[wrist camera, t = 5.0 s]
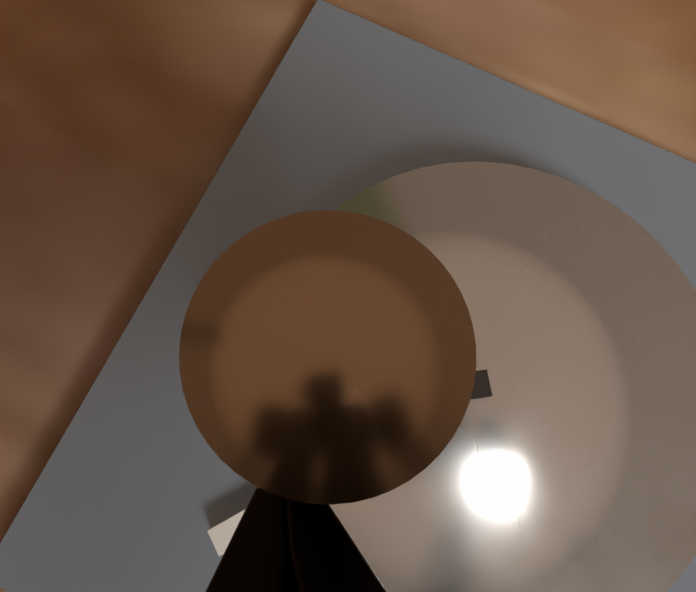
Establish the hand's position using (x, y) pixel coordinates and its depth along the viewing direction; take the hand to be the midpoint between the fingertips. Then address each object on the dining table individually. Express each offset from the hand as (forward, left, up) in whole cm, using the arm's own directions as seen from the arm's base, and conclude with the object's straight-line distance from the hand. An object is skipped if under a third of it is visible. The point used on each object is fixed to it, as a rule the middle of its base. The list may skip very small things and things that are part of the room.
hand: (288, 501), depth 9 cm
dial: (+5, -4, -8) cm, 10 cm away
